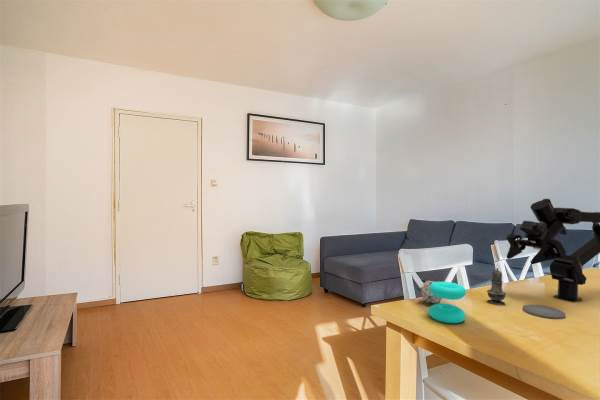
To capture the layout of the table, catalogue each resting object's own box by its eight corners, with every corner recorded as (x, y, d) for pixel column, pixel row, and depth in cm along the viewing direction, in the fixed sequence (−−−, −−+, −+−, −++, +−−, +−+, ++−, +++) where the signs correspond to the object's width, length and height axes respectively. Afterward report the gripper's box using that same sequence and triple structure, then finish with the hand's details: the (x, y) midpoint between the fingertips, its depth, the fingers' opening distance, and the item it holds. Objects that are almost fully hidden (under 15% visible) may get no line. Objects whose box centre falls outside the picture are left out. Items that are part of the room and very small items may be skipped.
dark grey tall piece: (509, 306, 114) (510, 270, 113) (489, 304, 115) (490, 269, 115) (502, 300, 119) (503, 266, 119) (484, 299, 121) (485, 265, 120)
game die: (432, 316, 113) (429, 297, 107) (414, 300, 120) (411, 281, 114) (453, 302, 114) (451, 282, 109) (434, 287, 121) (431, 267, 116)
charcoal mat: (532, 305, 115) (532, 302, 115) (571, 315, 106) (571, 312, 106) (515, 310, 109) (515, 307, 109) (555, 321, 100) (555, 318, 100)
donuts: (422, 282, 103) (445, 279, 107) (421, 315, 103) (444, 310, 108) (449, 291, 94) (473, 287, 98) (448, 327, 94) (472, 321, 99)
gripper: (513, 212, 128) (486, 238, 125) (564, 216, 110) (533, 246, 107) (526, 235, 130) (500, 262, 127) (578, 242, 112) (549, 273, 109)
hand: (518, 260), depth 117 cm, fingers open, 9 cm apart
